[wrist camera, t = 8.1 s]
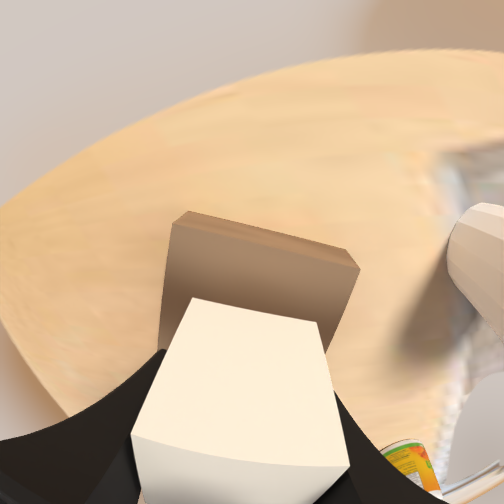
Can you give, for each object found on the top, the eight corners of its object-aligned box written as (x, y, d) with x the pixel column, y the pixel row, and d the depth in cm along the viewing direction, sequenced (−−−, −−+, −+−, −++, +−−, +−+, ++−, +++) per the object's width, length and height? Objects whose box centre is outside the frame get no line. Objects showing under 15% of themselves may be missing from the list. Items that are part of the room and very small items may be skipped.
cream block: (283, 403, 12) (287, 525, 6) (182, 384, 12) (145, 503, 6) (316, 322, 10) (350, 466, 5) (192, 297, 10) (130, 433, 5)
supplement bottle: (422, 452, 21) (448, 524, 12) (374, 472, 22) (391, 548, 13) (420, 429, 19) (453, 514, 10) (365, 453, 20) (384, 542, 11)
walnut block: (298, 366, 17) (302, 400, 15) (170, 338, 17) (156, 368, 14) (344, 247, 15) (360, 269, 12) (190, 209, 15) (172, 223, 12)
